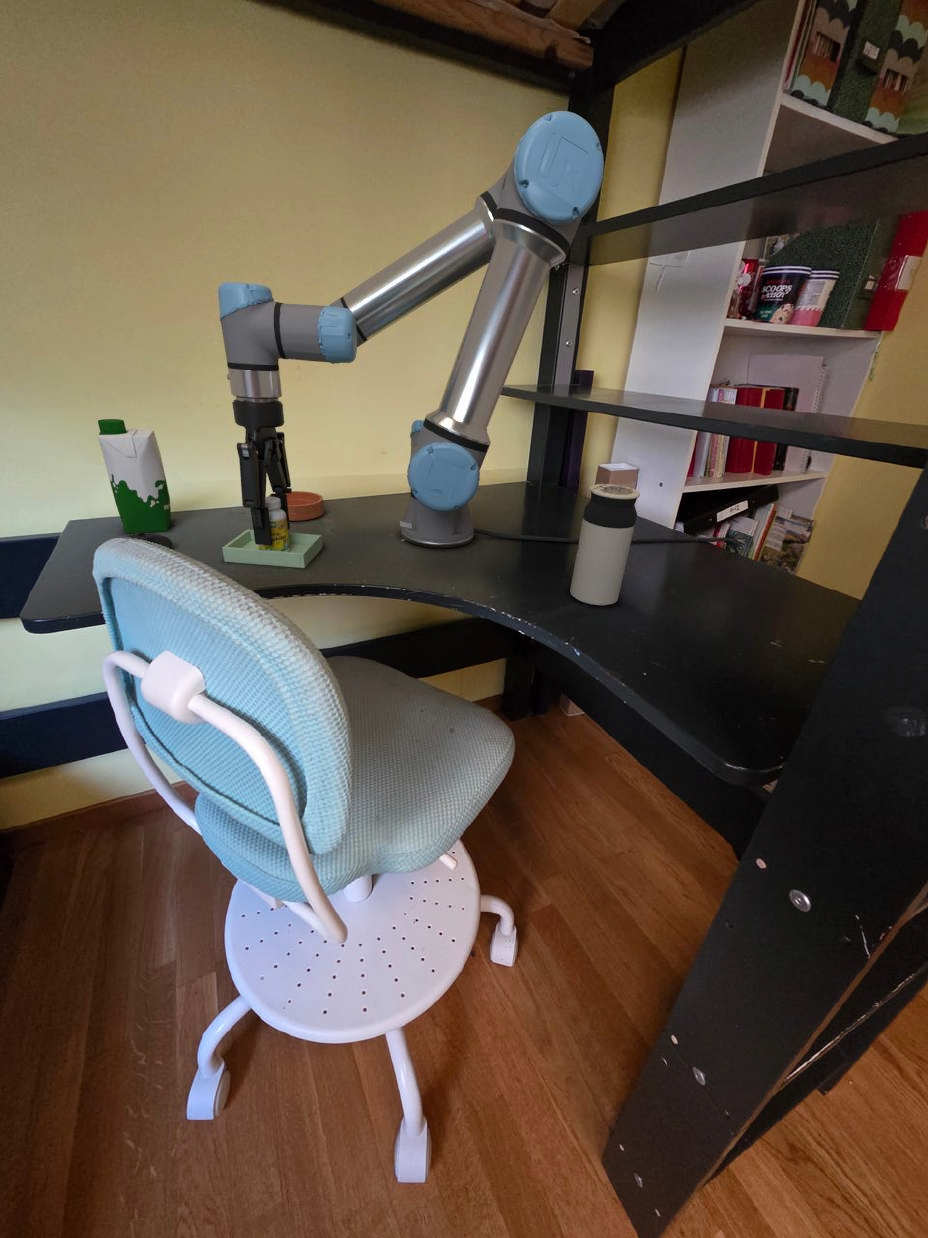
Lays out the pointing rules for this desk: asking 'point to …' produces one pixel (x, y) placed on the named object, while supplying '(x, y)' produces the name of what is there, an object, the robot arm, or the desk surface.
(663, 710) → the desk surface
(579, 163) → the robot arm
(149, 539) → the game controller
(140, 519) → the milk carton
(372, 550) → the desk surface
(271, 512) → the supplement bottle
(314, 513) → the bowl
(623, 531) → the travel mug
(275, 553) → the tray
